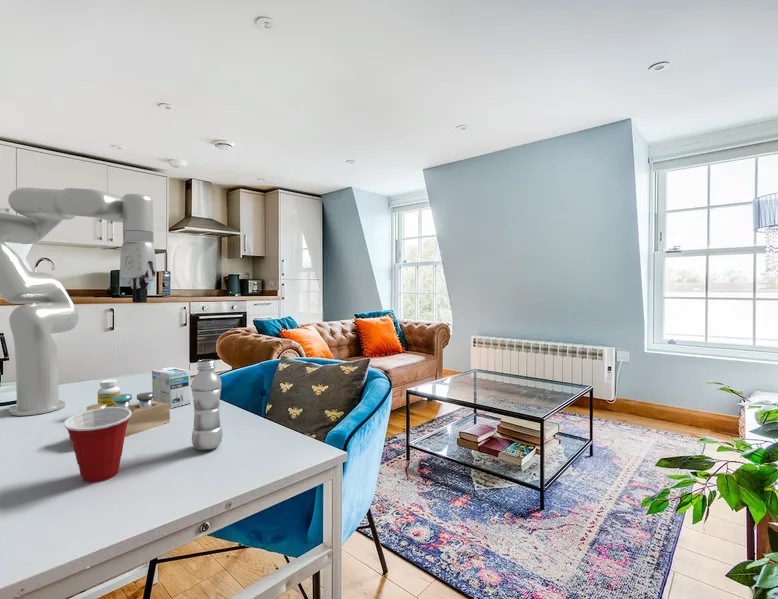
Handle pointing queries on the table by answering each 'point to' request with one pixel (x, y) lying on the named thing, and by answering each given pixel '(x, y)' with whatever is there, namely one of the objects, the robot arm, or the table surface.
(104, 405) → the plug brass
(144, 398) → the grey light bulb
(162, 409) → the oak block
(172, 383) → the light bulb box
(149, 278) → the robot arm
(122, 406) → the plug teal
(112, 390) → the supplement bottle
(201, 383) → the plastic bottle
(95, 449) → the plastic cup
